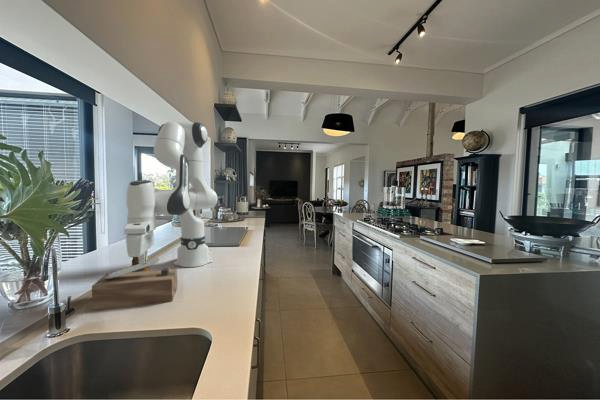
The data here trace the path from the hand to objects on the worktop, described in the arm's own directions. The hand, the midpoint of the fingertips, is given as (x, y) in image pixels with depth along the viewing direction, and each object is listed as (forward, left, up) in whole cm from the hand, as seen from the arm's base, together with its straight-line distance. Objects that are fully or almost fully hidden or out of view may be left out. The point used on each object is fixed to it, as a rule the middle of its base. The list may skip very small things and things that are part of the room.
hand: (142, 263), depth 96 cm
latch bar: (-1, -3, -3) cm, 4 cm away
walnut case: (-1, -2, -13) cm, 13 cm away
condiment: (-20, -7, -13) cm, 25 cm away
